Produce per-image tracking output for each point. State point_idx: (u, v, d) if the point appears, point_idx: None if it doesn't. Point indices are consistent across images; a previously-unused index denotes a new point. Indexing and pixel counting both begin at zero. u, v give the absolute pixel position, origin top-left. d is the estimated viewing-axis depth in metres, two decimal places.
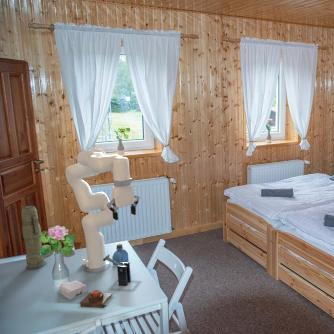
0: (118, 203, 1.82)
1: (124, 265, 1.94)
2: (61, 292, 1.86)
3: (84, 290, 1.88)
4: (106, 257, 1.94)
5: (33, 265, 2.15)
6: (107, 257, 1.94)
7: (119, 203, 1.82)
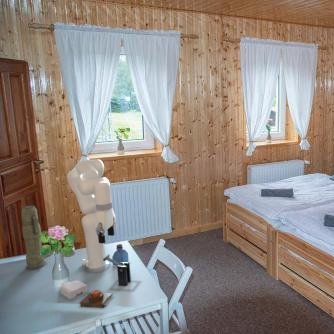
0: (105, 226, 1.86)
1: (124, 265, 1.94)
2: (62, 292, 1.86)
3: (85, 290, 1.88)
4: (106, 257, 1.94)
5: (33, 265, 2.15)
6: (107, 257, 1.94)
7: (106, 226, 1.87)
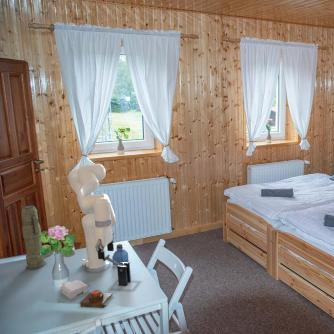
0: (105, 242, 1.88)
1: (124, 265, 1.94)
2: (62, 292, 1.87)
3: (85, 290, 1.88)
4: (106, 257, 1.94)
5: (33, 265, 2.15)
6: (107, 257, 1.94)
7: (105, 242, 1.89)
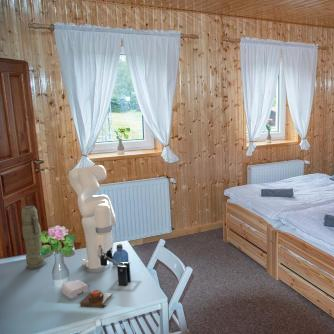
0: (105, 249, 1.89)
1: (124, 265, 1.94)
2: (63, 291, 1.87)
3: (86, 289, 1.88)
4: (106, 257, 1.94)
5: (33, 265, 2.15)
6: (107, 257, 1.94)
7: (106, 248, 1.89)
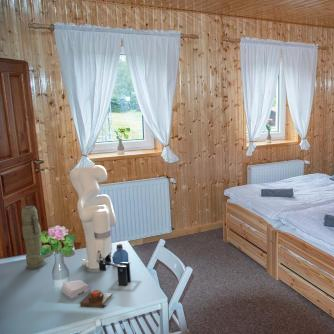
0: (104, 254, 1.90)
1: (123, 265, 1.94)
2: (63, 291, 1.87)
3: (86, 289, 1.88)
4: None
5: (33, 265, 2.15)
6: (105, 261, 1.95)
7: (104, 254, 1.90)
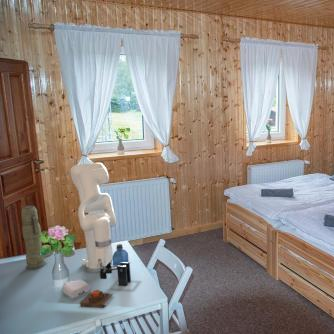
0: (105, 262, 1.91)
1: (122, 265, 1.94)
2: (64, 291, 1.87)
3: (87, 289, 1.89)
4: None
5: (33, 265, 2.15)
6: None
7: (105, 262, 1.91)
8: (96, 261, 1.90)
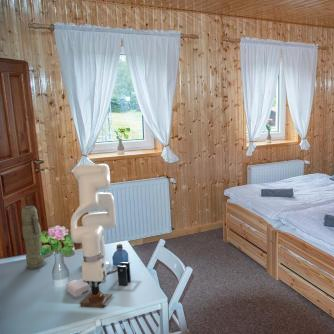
0: (83, 276, 1.77)
1: (122, 265, 1.95)
2: (68, 290, 1.88)
3: (90, 288, 1.90)
4: None
5: (33, 265, 2.15)
6: (107, 273, 1.96)
7: (84, 277, 1.77)
8: None
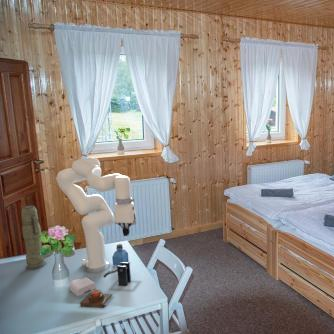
0: (115, 218, 1.94)
1: (122, 265, 1.95)
2: (70, 289, 1.89)
3: (93, 288, 1.90)
4: (106, 273, 1.96)
5: (33, 265, 2.15)
6: (107, 273, 1.96)
7: (116, 218, 1.94)
8: None
